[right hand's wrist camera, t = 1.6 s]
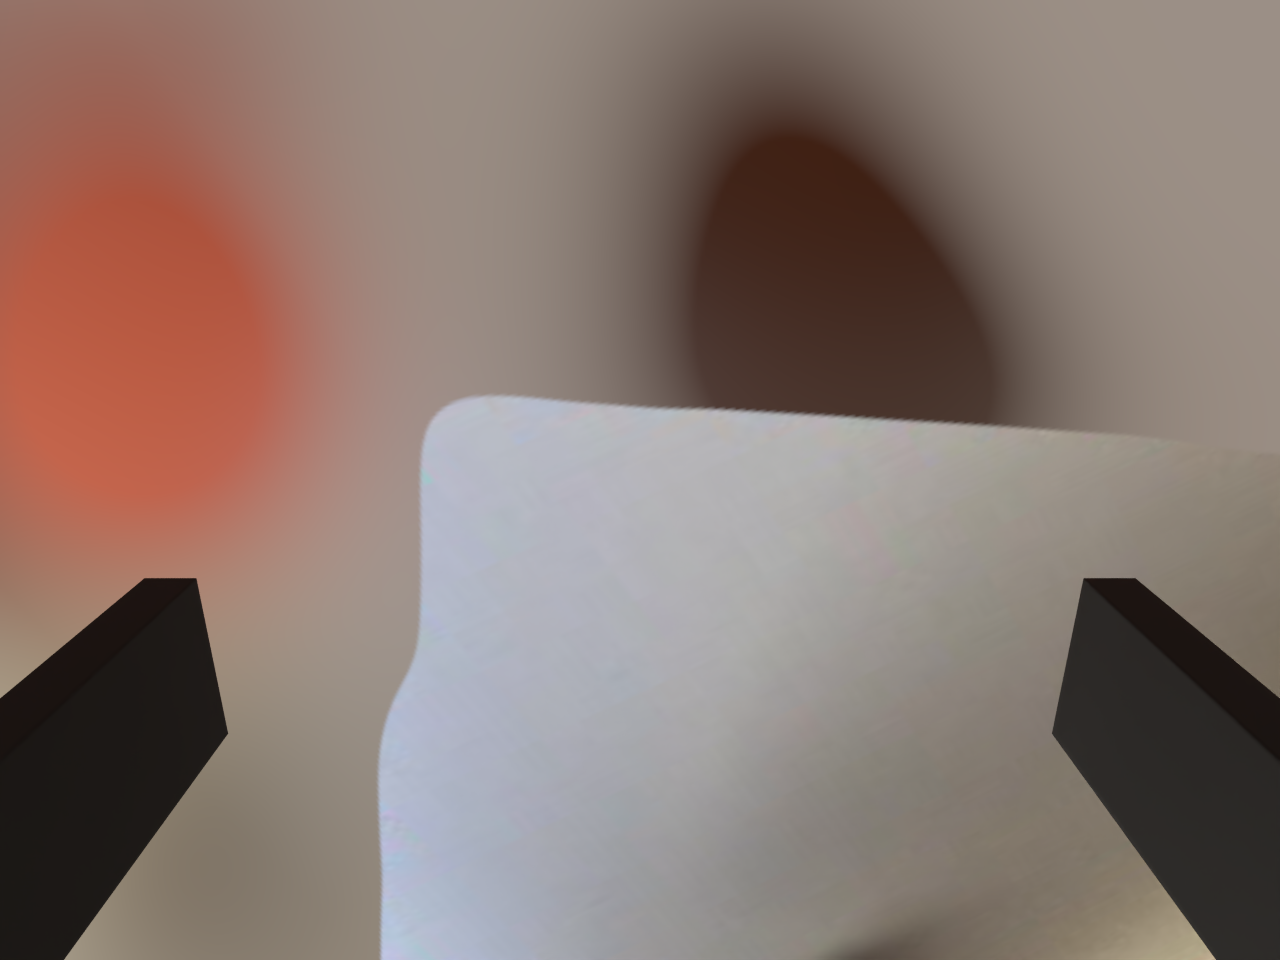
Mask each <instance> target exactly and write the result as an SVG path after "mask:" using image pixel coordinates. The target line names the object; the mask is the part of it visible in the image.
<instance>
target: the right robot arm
mask: <svg viewBox="0 0 1280 960" xmlns="http://www.w3.org/2000/svg"><path fill="white" fill-rule="evenodd" d="M227 734H228V731H227V726H226V721H225V716H224V711H223V707H222V702H221V697H220V692H219V687H218V682H217V677H216V672H215V667H214V662H213V658H212V653H211V648H210V643H209V638H208V633H207V628H206V623H205V618H204V614H203V609H202V604H201V599H200V594H199V589H198V584H197V579H196V578H144V579H143V580H142V581H141V582H140V583H138V584H137V585H136V586H135V587H134V588H132V589H131V590H130V591H129V592H128V593H126V594H125V595H124V596H123V597H122V598H120V599H119V600H118V601H117V602H116V603H114V604H113V605H112V606H111V607H110V608H108V609H107V610H106V611H105V612H104V613H102V614H101V615H100V616H99V617H98V618H96V619H95V620H94V621H93V622H91V623H90V624H89V625H88V626H87V627H86V628H84V629H83V630H82V631H81V632H80V633H78V634H77V635H76V636H75V637H74V638H72V639H71V640H70V641H69V642H68V643H66V644H65V645H64V646H63V647H61V648H60V649H59V650H58V651H57V652H56V653H54V654H53V655H52V656H51V657H49V658H48V659H47V660H46V661H45V662H44V663H42V664H41V665H40V666H39V667H38V668H36V669H35V670H34V671H33V672H31V673H30V674H29V675H28V676H27V677H25V678H24V679H23V680H22V681H21V682H19V683H18V684H17V685H16V686H15V687H13V688H12V689H11V690H10V691H9V692H7V693H6V694H5V695H4V696H3V697H1V698H0V960H64V959H65V957H66V956H67V955H68V953H69V952H70V951H71V949H72V948H73V946H74V945H75V944H76V942H77V941H78V940H79V938H80V937H81V935H82V934H83V933H84V931H85V930H86V928H87V927H88V926H89V924H90V923H91V922H92V920H93V919H94V917H95V916H96V915H97V913H98V912H99V911H100V909H101V908H102V906H103V905H104V904H105V902H106V901H107V900H108V898H109V897H110V895H111V894H112V893H113V891H114V890H115V889H116V887H117V886H118V884H119V883H120V882H121V880H122V879H123V878H124V876H125V875H126V873H127V872H128V871H129V869H130V868H131V867H132V865H133V864H134V862H135V861H136V860H137V858H138V857H139V856H140V854H141V853H142V851H143V850H144V849H145V847H146V846H147V844H148V843H149V842H150V840H151V839H152V838H153V836H154V835H155V833H156V832H157V831H158V829H159V828H160V827H161V825H162V824H163V822H164V821H165V820H166V818H167V817H168V815H169V814H170V813H171V811H172V810H173V809H174V807H175V806H176V805H177V803H178V802H179V800H180V799H181V798H182V796H183V795H184V794H185V792H186V791H187V789H188V788H189V787H190V785H191V784H192V782H193V781H194V780H195V778H196V777H197V776H198V774H199V773H200V771H201V770H202V769H203V767H204V766H205V765H206V763H207V762H208V760H209V759H210V758H211V756H212V755H213V754H214V752H215V751H216V749H217V748H218V747H219V745H220V744H221V743H222V741H223V740H224V738H225V737H226V736H227ZM1052 734H1053V736H1054V737H1055V738H1056V740H1057V741H1058V743H1059V744H1060V745H1061V747H1062V748H1063V749H1064V751H1065V752H1066V754H1067V755H1068V756H1069V758H1070V759H1071V760H1072V762H1073V763H1074V765H1075V766H1076V767H1077V769H1078V770H1079V771H1080V773H1081V774H1082V776H1083V777H1084V778H1085V780H1086V781H1087V782H1088V784H1089V785H1090V787H1091V788H1092V789H1093V791H1094V792H1095V794H1096V795H1097V796H1098V798H1099V799H1100V800H1101V802H1102V803H1103V805H1104V806H1105V807H1106V809H1107V810H1108V811H1109V813H1110V814H1111V816H1112V817H1113V818H1114V820H1115V821H1116V822H1117V824H1118V825H1119V827H1120V828H1121V829H1122V831H1123V832H1124V833H1125V835H1126V836H1127V838H1128V839H1129V840H1130V842H1131V843H1132V844H1133V846H1134V847H1135V849H1136V850H1137V851H1138V853H1139V854H1140V856H1141V857H1142V858H1143V860H1144V861H1145V862H1146V864H1147V865H1148V867H1149V868H1150V869H1151V871H1152V872H1153V873H1154V875H1155V876H1156V878H1157V879H1158V880H1159V882H1160V883H1161V884H1162V886H1163V887H1164V889H1165V890H1166V891H1167V893H1168V894H1169V895H1170V897H1171V898H1172V900H1173V901H1174V902H1175V904H1176V905H1177V906H1178V908H1179V909H1180V911H1181V912H1182V913H1183V915H1184V916H1185V918H1186V919H1187V920H1188V922H1189V923H1190V924H1191V926H1192V927H1193V929H1194V930H1195V931H1196V933H1197V934H1198V935H1199V937H1200V938H1201V940H1202V941H1203V942H1204V944H1205V945H1206V946H1207V948H1208V949H1209V951H1210V952H1211V953H1212V955H1213V956H1214V957H1215V959H1216V960H1280V698H1279V697H1277V696H1276V695H1275V694H1274V693H1273V692H1271V691H1270V690H1269V689H1268V688H1267V687H1265V686H1264V685H1263V684H1262V683H1261V682H1259V681H1258V680H1257V679H1256V678H1255V677H1253V676H1252V675H1251V674H1250V673H1249V672H1247V671H1246V670H1245V669H1244V668H1243V667H1241V666H1240V665H1239V664H1238V663H1237V662H1235V661H1234V660H1233V659H1232V658H1231V657H1229V656H1228V655H1227V654H1226V653H1225V652H1223V651H1222V650H1221V649H1220V648H1219V647H1217V646H1216V645H1215V644H1214V643H1213V642H1211V641H1210V640H1209V639H1208V638H1207V637H1205V636H1204V635H1203V634H1202V633H1201V632H1199V631H1198V630H1197V629H1196V628H1195V627H1193V626H1192V625H1191V624H1190V623H1189V622H1187V621H1186V620H1185V619H1184V618H1182V617H1181V616H1180V615H1179V614H1178V613H1176V612H1175V611H1174V610H1173V609H1172V608H1170V607H1169V606H1168V605H1167V604H1166V603H1164V602H1163V601H1162V600H1161V599H1160V598H1158V597H1157V596H1156V595H1155V594H1154V593H1152V592H1151V591H1150V590H1149V589H1148V588H1146V587H1145V586H1144V585H1143V584H1142V583H1140V582H1139V581H1138V580H1137V579H1136V578H1084V579H1083V584H1082V589H1081V594H1080V599H1079V604H1078V609H1077V614H1076V618H1075V623H1074V628H1073V633H1072V638H1071V643H1070V648H1069V653H1068V658H1067V662H1066V667H1065V672H1064V677H1063V682H1062V687H1061V692H1060V697H1059V702H1058V707H1057V711H1056V716H1055V721H1054V726H1053V731H1052Z"/></svg>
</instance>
